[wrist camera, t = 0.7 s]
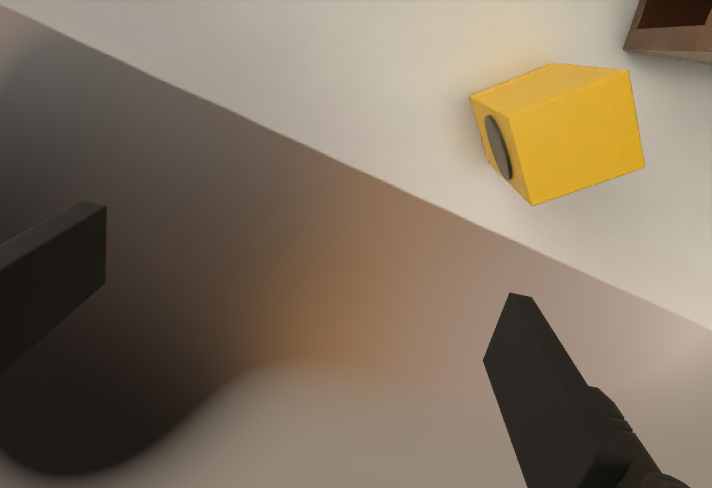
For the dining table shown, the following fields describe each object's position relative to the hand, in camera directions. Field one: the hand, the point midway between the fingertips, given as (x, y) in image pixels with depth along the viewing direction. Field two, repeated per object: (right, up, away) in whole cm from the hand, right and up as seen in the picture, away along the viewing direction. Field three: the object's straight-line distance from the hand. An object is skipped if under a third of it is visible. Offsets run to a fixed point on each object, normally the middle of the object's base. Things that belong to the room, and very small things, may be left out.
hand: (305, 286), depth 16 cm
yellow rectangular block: (+15, +12, +24) cm, 31 cm away
